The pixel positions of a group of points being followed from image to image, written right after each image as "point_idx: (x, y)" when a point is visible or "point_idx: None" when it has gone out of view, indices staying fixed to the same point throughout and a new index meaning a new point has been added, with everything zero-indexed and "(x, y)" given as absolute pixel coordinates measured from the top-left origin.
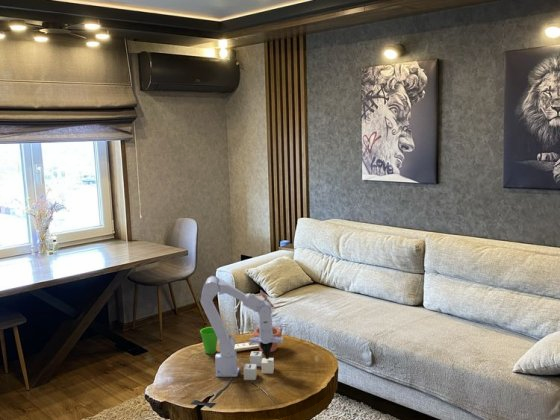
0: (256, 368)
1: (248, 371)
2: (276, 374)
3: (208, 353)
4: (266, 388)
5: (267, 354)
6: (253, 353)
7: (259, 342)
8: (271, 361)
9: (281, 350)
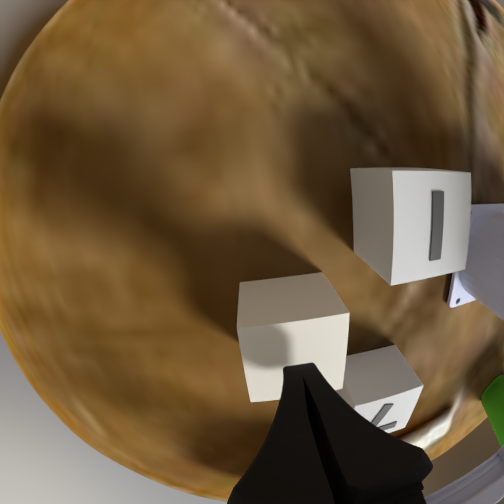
0: (375, 260)
1: (429, 170)
2: (209, 268)
3: (501, 375)
4: (236, 50)
5: (300, 397)
6: (398, 415)
7: (431, 498)
8: (254, 352)
9: None
